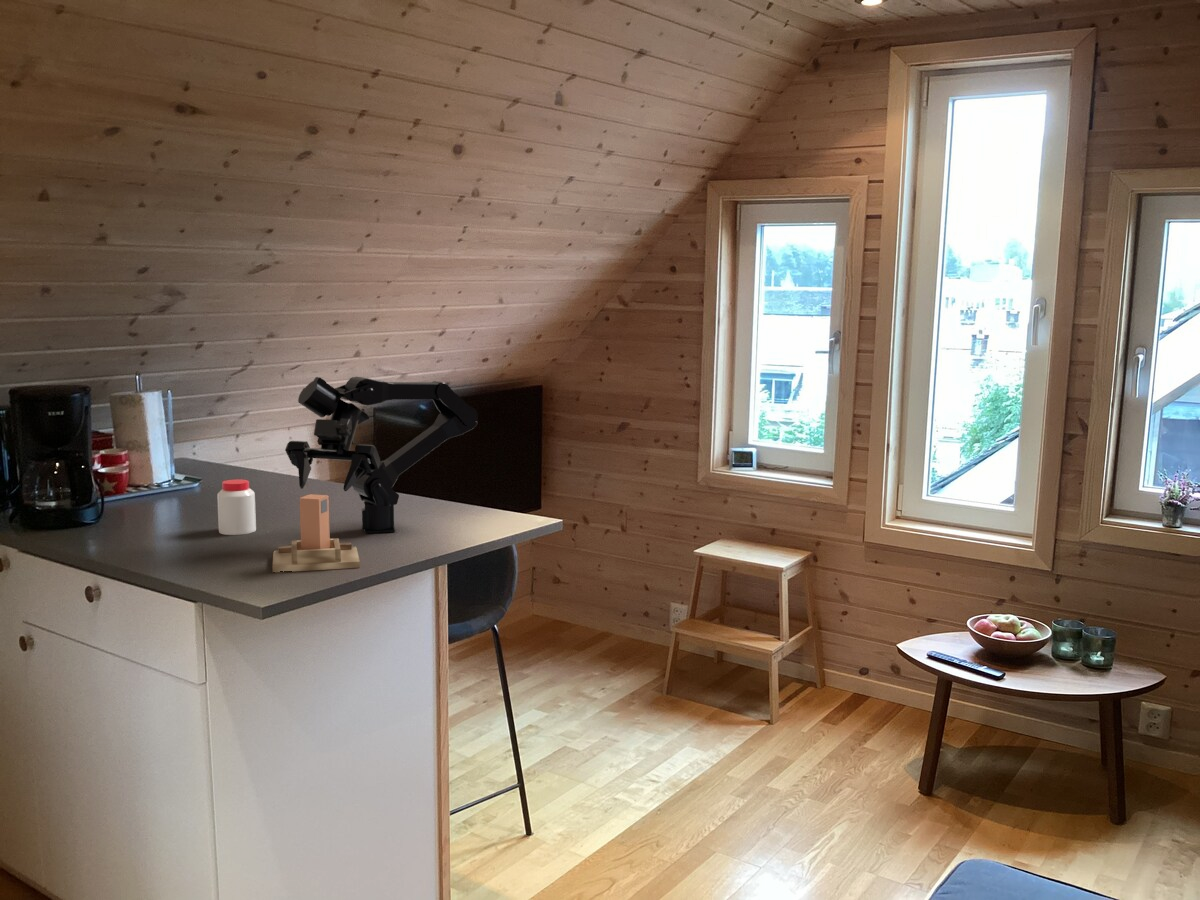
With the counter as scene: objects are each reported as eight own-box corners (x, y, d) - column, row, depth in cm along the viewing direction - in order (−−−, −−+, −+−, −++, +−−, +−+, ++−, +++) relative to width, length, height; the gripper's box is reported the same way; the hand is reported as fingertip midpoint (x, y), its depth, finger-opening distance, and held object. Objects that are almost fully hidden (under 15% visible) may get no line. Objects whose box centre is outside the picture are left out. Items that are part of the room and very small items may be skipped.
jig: (356, 552, 216) (355, 534, 216) (359, 567, 205) (359, 548, 204) (273, 556, 212) (273, 538, 211) (272, 572, 201) (272, 553, 200)
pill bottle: (243, 525, 239) (241, 477, 237) (263, 530, 234) (261, 481, 232) (211, 531, 233) (209, 481, 231) (231, 536, 228) (229, 486, 226)
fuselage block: (311, 554, 210) (309, 494, 208) (330, 555, 209) (328, 495, 207) (301, 559, 206) (299, 498, 204) (320, 560, 205) (319, 499, 203)
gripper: (288, 402, 221) (266, 463, 211) (376, 406, 219) (358, 468, 209) (303, 434, 229) (283, 494, 220) (387, 439, 227) (370, 500, 218)
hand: (322, 488), depth 217 cm, fingers open, 9 cm apart
